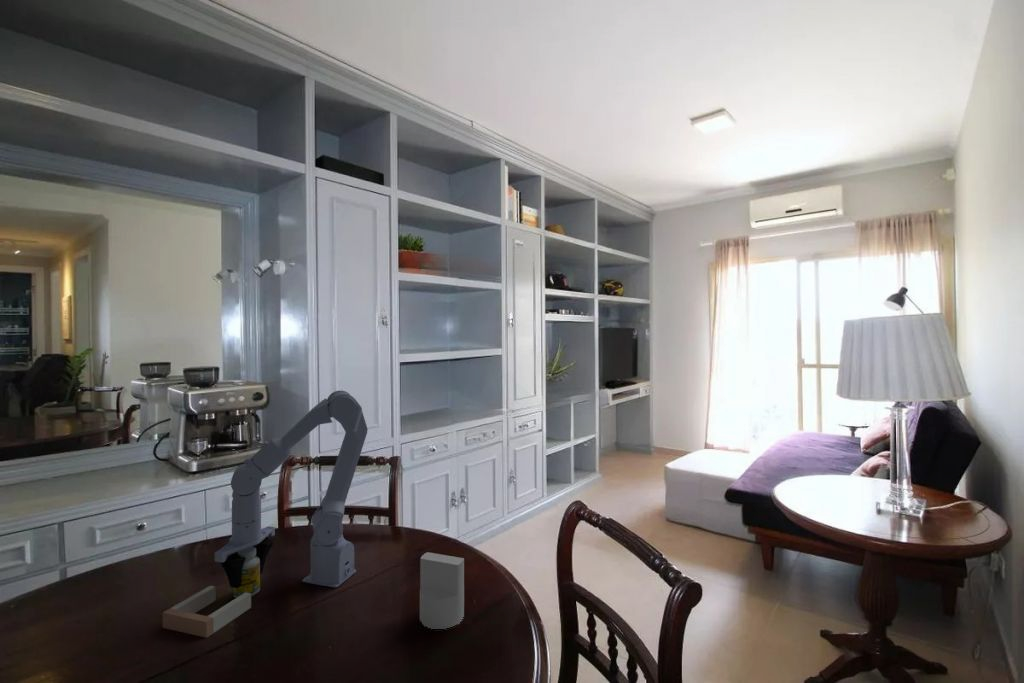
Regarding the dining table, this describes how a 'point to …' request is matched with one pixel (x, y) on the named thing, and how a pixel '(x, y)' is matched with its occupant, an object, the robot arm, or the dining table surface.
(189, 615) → the frame
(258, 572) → the supplement bottle
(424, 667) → the dining table surface
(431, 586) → the grey rounded block
